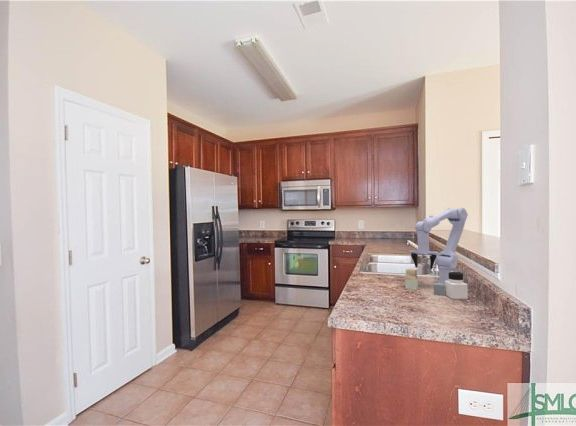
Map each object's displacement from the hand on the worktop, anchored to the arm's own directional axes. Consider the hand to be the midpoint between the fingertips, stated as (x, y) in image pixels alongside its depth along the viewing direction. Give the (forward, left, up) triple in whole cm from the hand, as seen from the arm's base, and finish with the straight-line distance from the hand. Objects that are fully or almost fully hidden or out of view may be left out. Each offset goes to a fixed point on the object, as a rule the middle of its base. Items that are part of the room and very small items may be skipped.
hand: (423, 268), depth 154 cm
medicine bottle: (+11, +17, -11) cm, 23 cm away
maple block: (+7, -4, -5) cm, 10 cm away
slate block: (+10, +9, -10) cm, 17 cm away
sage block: (+7, -5, -10) cm, 13 cm away
